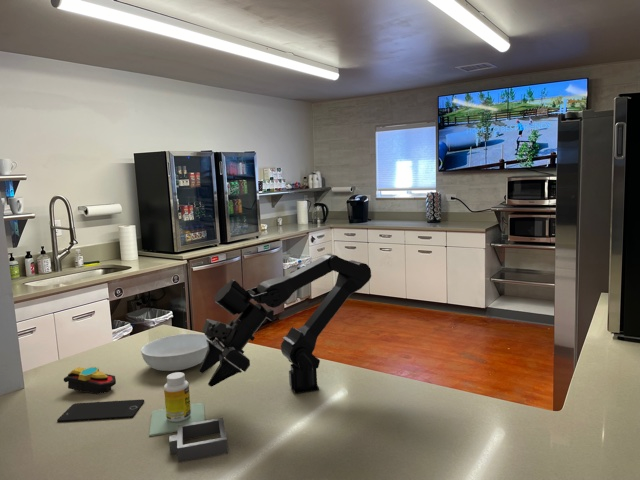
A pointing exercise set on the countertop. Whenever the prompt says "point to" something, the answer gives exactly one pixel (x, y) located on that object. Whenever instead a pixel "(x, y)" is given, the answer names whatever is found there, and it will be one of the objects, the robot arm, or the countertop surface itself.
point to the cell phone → (101, 410)
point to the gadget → (90, 380)
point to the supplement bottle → (177, 397)
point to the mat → (165, 426)
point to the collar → (199, 448)
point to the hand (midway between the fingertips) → (204, 378)
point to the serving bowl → (175, 352)
